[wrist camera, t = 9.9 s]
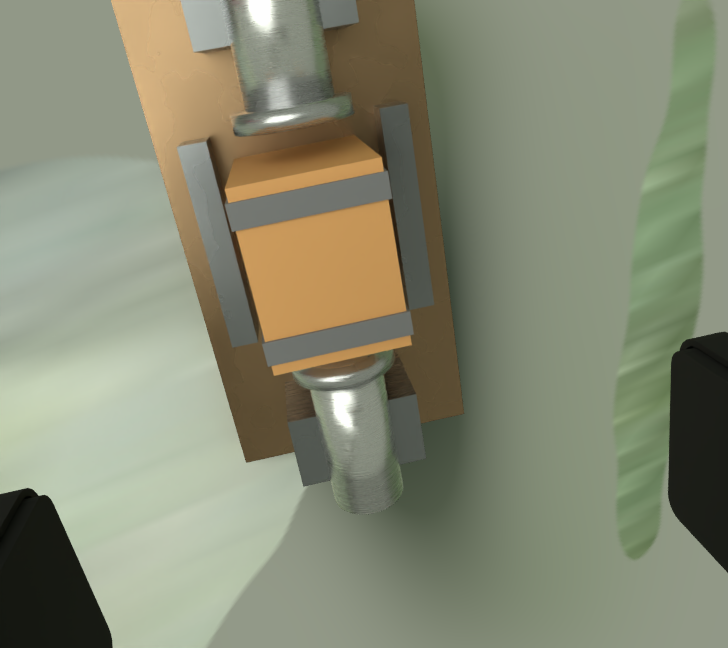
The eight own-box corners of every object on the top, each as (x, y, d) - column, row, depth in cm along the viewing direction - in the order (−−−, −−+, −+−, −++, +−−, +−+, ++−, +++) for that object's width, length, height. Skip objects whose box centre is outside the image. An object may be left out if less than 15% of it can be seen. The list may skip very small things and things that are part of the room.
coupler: (231, 159, 23) (220, 190, 18) (356, 134, 24) (385, 156, 18) (269, 309, 26) (270, 377, 20) (382, 284, 26) (415, 345, 20)
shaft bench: (457, 408, 30) (504, 491, 24) (248, 454, 29) (244, 552, 24) (393, -107, 22) (440, -170, 16) (101, -59, 21) (38, -105, 15)
